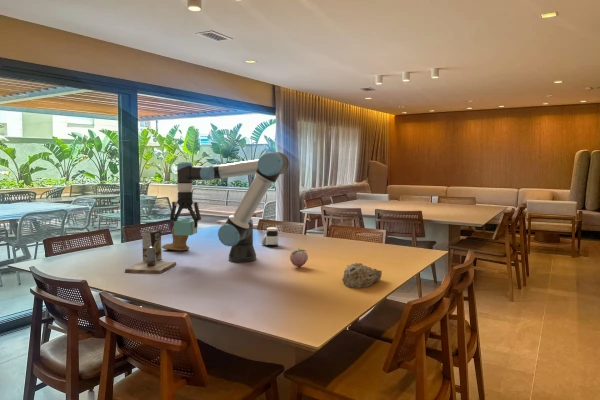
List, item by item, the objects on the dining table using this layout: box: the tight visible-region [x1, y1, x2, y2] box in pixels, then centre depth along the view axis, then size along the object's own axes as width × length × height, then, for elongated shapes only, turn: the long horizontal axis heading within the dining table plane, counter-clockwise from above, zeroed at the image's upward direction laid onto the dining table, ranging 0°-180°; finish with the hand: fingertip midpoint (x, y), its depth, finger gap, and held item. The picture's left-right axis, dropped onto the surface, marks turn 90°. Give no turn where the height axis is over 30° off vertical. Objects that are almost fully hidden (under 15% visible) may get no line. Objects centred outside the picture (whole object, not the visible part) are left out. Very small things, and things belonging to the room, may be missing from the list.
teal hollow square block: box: [173, 219, 198, 236], centre depth 225 cm, size 9×9×7 cm
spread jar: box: [260, 226, 279, 248], centre depth 272 cm, size 12×11×12 cm
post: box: [147, 247, 156, 266], centre depth 212 cm, size 4×4×11 cm
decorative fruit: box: [289, 248, 309, 268], centre depth 215 cm, size 9×8×10 cm
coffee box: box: [141, 229, 163, 261], centre depth 230 cm, size 9×6×16 cm
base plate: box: [124, 260, 177, 274], centre depth 212 cm, size 18×18×2 cm
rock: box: [341, 262, 383, 289], centre depth 188 cm, size 21×14×10 cm
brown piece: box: [161, 226, 190, 252], centre depth 258 cm, size 15×12×15 cm
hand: (185, 233), depth 225 cm, fingers closed on teal hollow square block, 9 cm apart
